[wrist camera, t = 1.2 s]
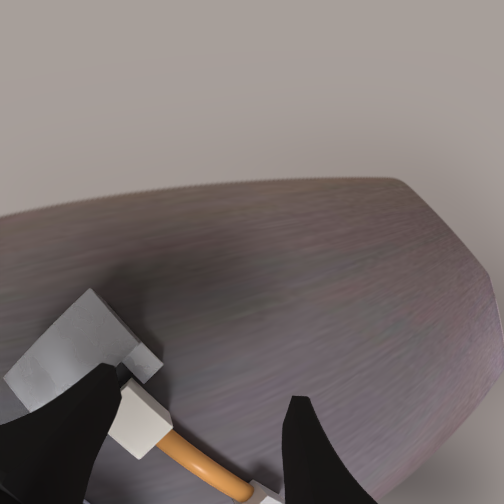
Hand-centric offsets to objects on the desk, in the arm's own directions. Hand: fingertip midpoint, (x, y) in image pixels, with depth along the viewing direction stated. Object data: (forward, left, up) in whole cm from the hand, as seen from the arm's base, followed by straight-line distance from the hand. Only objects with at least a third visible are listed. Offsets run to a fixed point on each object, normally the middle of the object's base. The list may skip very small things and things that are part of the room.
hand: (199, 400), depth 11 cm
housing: (+5, +5, -15) cm, 17 cm away
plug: (-8, +5, -15) cm, 18 cm away
